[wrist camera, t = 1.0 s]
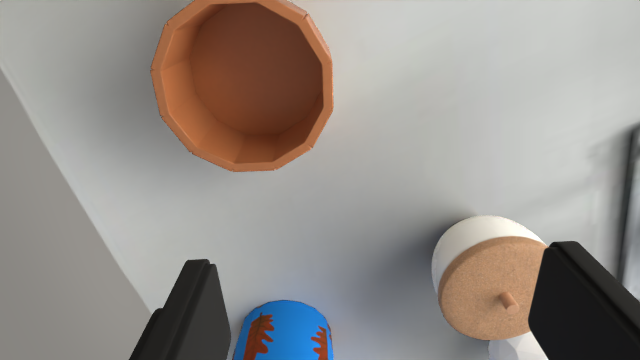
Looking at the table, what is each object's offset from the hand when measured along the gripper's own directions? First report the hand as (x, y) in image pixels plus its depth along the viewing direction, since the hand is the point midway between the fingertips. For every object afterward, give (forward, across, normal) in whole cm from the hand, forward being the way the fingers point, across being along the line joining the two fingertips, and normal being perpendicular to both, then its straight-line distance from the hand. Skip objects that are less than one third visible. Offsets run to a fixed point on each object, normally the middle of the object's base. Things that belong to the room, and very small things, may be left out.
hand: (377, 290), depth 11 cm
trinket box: (+24, -13, +16) cm, 32 cm away
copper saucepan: (+24, +7, -6) cm, 26 cm away
